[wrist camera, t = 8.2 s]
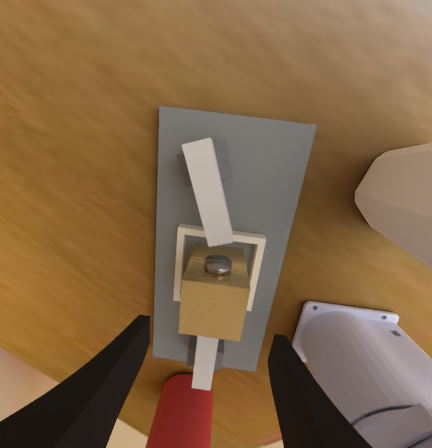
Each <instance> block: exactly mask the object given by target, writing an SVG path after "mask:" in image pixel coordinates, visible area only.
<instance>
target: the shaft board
mask: <svg viewBox="0 0 432 448" xmlns="http://www.w3.org/2000/svg"><path fill="white" fill-rule="evenodd" d="M316 129H317V125H315V124H307V123H299V122H291V121H282V120H274V119H266V118H258V117H249V116H241V115H233V114H225V113H217V112H208V111H200V110H192V109H184V108H175V107H167V106H159V139H158V177H157V215H156V253H155V290H154V328H153V357H156V358H163V359H170V360H177V361H184V362H186V366H192V367H194V371H193V380H192V388H195V389H202V390H209V391H210V390H211V384H212V378H213V372H214V370H220V371H221V368H222V367H225V368H232V369H239V370H246V371H253V372H255V370H256V366H257V362H258V359H259V355H260V351H261V347H262V343H263V339H264V335H265V331H266V327H267V323H268V319H269V315H270V311H271V307H272V303H273V299H274V295H275V291H276V287H277V283H278V279H279V275H280V271H281V267H282V263H283V259H284V256H285V252H286V248H287V244H288V240H289V236H290V232H291V228H292V224H293V220H294V216H295V212H296V208H297V204H298V200H299V196H300V192H301V188H302V184H303V180H304V176H305V172H306V168H307V164H308V160H309V157H310V153H311V149H312V145H313V141H314V137H315V133H316ZM196 243H201V244H208V246H209V247H212V246H224V247H232V248H240V249H244V255H245V260H246V266H247V272H248V278H249V284H250V294H249V299H248V304H247V309H246V314H245V319H244V324H243V329H242V334H241V339H240V342H239V341H232V340H225V339H217V338H210V337H203V336H196V335H188V334H181V333H178V331H179V317H180V303H181V288H182V279H183V276H184V274H185V271H186V269H187V266H188V263H189V261H190V258H191V255H192V253H193V250H194V248H195V245H196Z"/></svg>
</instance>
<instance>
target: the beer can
mask: <svg viewBox="0 0 432 448" xmlns="http://www.w3.org/2000/svg"><path fill="white" fill-rule="evenodd" d="M192 380H193V374H188V373H183V374H177V375H175V376H173V377H171V378H169V379H168V380H167V381H166V382H165V384H164V386H163V389H162V392H161V395H160V399H159V402H158V406H157V409H156V413H155V416H154V420H153V423H152V427H151V430H150V434H149V437H148V441H147V445H146V448H210V440H211V424H212V409H213V391H212V389H211V390H210V391H209V390H202V389H195V388H192Z"/></svg>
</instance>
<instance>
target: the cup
mask: <svg viewBox="0 0 432 448" xmlns="http://www.w3.org/2000/svg"><path fill="white" fill-rule="evenodd" d="M355 204H356V205H357V207H358V208H359V210H360V212H361V213H362V215H363V216H364V218H365V220H366V221H367V223H368V224H369V226H370V227H371V228H373V229H374V230H376V231H377V232H379V233H380V234H381V235H383V236H384V237H386V238H387V239H389V240H390V241H392V242H393V243H394V244H396V245H397V246H399V247H400V248H402V249H403V250H404V251H406V252H407V253H409V254H410V255H412V256H413V257H415V258H416V259H417V260H419V261H420V262H422V263H423V264H425V265H426V266H427V267H429V268H430V269H432V143H428V144H422V145H417V146H412V147H407V148H401V149H396V150H391V151H386V152H385V153H383V154H382V155H380V156H379V157H377V158H376V159H375V160H374V162H373V163H372V165H371V166H370V168H369V170H368V171H367V173H366V175H365V176H364V178H363V179H362V181H361V183H360V184H359V186H358V188H357V189H356V191H355Z"/></svg>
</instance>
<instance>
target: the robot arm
mask: <svg viewBox="0 0 432 448" xmlns="http://www.w3.org/2000/svg"><path fill="white" fill-rule="evenodd" d="M314 306H316V307H314ZM398 320H399V316H398V315H397V314H396V313H393V312H386V311H379V310H371V309H364V308H357V307H350V306H342V305H335V304H328V303H321V302H313V301H307V302H306V303H305V304H304V306H303V310H302V313H301V316H300V319H299V322H298V326H297V329H296V332H295V335H294V338H293V341H292V344H291V343H290V341H289V340H288V338H287V337H286V336H285V335H278V334H275V336H274V339H273V343H272V347H271V350H270V354H269V358H268V368H269V376H270V383H271V388H272V393H273V398H274V402H275V407H276V411H277V416H278V420H279V425H280V430H281V434H282V439H283V444H284V448H432V359H431V358H430V357H429V356H428V355H427V354H426V353H425V352H424V351H423V350H422V349H421V348H420V347H419V346H418V345H417V344H416V343H415V342H414V341H413V340H412V339H411V338H410V337H409V336H408V335H407V334H406V333H405V332H404V331H403V330H402V329H401V328H400V327H399V326H398V325H397V322H398ZM149 344H150V316H145V315H139V316H137V318H136V319H135V320H134V321H133V322H132V323H131V324H130V325H129V326H128V327H127V328H126V329H125V330H124V331H123V332H121V333H120V334H119V335H118V336H117V337H116V338H115V339H114V340H113V341H112V342H111V343H110V344H109V345H108V346H106V347H105V348H104V349H103V350H102V351H101V352H99V353H98V354H97V355H96V356H95V357H94V358H92V359H91V360H90V361H89V362H88V363H86V364H85V365H84V366H83V367H81V368H80V369H79V370H77V371H76V372H75V373H73V374H72V375H71V376H69V377H68V378H67V379H65V380H64V381H63V382H61V383H60V384H58V385H57V386H55V387H54V388H53V389H51V390H50V391H48V392H47V393H45V394H44V395H42V396H41V397H39V398H38V399H36V400H34V401H33V402H31V403H30V404H28V405H27V406H25V407H23V408H22V409H20V410H18V411H17V412H15V413H14V414H12V415H10V416H9V417H7V418H5V419H4V420H2V421H0V448H106V446H107V443H108V441H109V438H110V435H111V433H112V430H113V428H114V425H115V422H116V420H117V418H118V415H119V413H120V411H121V409H122V406H123V404H124V402H125V400H126V398H127V396H128V394H129V392H130V389H131V387H132V385H133V383H134V381H135V379H136V377H137V374H138V372H139V370H140V368H141V366H142V364H143V361H144V358H145V355H146V352H147V350H148V347H149ZM303 362H307V364H308V366H309V369H310V371H311V373H310V371H309V370H308V368H307V367H306V366H305V364H304V363H303Z"/></svg>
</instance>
